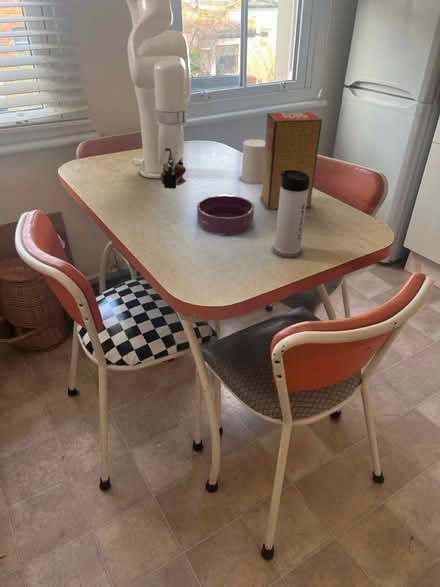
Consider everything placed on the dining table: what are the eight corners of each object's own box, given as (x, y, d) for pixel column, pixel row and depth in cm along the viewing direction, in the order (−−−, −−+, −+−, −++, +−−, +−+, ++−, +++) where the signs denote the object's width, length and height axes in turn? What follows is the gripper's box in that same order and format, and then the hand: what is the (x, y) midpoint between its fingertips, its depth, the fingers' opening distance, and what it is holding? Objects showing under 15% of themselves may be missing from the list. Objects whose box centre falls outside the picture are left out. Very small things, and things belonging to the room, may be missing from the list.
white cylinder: (265, 175, 152) (268, 139, 145) (265, 184, 146) (268, 147, 139) (242, 174, 153) (244, 138, 146) (240, 182, 146) (242, 146, 139)
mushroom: (196, 174, 123) (184, 154, 121) (185, 188, 118) (172, 169, 115) (176, 183, 128) (163, 165, 125) (164, 198, 123) (151, 179, 120)
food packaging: (301, 195, 138) (312, 111, 124) (311, 207, 130) (324, 119, 116) (260, 197, 136) (266, 112, 122) (267, 210, 129) (275, 120, 114)
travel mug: (270, 245, 111) (278, 167, 100) (296, 245, 112) (306, 167, 100) (275, 258, 106) (283, 177, 95) (302, 257, 107) (313, 177, 95)
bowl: (192, 233, 116) (192, 215, 113) (202, 209, 128) (202, 193, 125) (250, 238, 114) (251, 220, 111) (254, 213, 127) (256, 197, 124)
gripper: (165, 106, 120) (168, 169, 130) (147, 124, 106) (152, 193, 116) (192, 108, 119) (193, 171, 129) (178, 126, 105) (180, 195, 115)
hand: (174, 181), depth 123 cm, fingers closed on mushroom, 8 cm apart
